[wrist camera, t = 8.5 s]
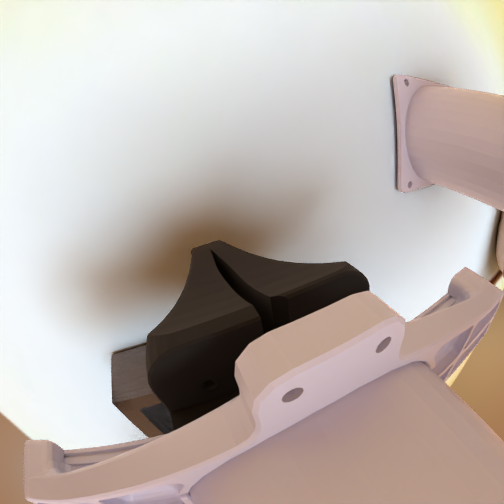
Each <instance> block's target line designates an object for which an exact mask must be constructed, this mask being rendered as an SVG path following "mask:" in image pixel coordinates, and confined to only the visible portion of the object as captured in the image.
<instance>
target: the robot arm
mask: <svg viewBox="0 0 504 504" xmlns="http://www.w3.org/2000/svg"><path fill="white" fill-rule="evenodd" d="M393 85H394V94H395V105H396V118H397V139H398V190H399V191H400V192H403V193H406V192H409V191H413V190H416V189H420V188H423V187H427V186H430V185H434V184H438V185H441V186H443V187H446V188H449V189H451V190H454V191H456V192H459V193H462V194H464V195H466V196H469V197H471V198H474V199H476V200H478V201H481V202H483V203H485V204H488V205H490V206H492V207H494V208H496V209H498V210H501V211H503V212H504V96H503V95H498V94H492V93H487V92H481V91H474V90H467V89H459V88H453V87H449V86H446V85H442V84H439V83H435V82H431V81H427V80H423V79H419V78H415V77H410V76H405V75H395V76H394V78H393ZM191 254H192V259H191V266H190V271H189V275H188V278H187V281H186V284H185V287H184V289H183V291H182V294H181V296H180V297H179V299H178V301H177V303H176V304H175V306H174V307H173V309H172V310H171V311H170V313H169V314H168V315H167V316H166V318H165V319H164V320H163V321H162V322H161V323H160V324H159V325H158V326H157V327H156V328H155V329H154V330H152V331H151V332H150V333H149V334H148V336H147V343H146V355H145V363H146V372H147V379H148V384H149V386H150V388H151V390H152V391H153V393H154V394H155V395H156V396H157V398H158V399H159V400H160V401H161V402H162V404H163V405H164V406H165V407H166V408H167V410H168V411H169V412H170V415H171V420H172V424H173V428H174V431H173V432H171V433H168V434H164V435H160V436H155V437H151V438H146V439H142V440H137V441H132V442H126V443H121V444H115V445H108V446H101V447H93V448H84V449H74V450H63V449H62V448H61V447H59V446H58V445H57V444H55V443H53V442H51V441H48V440H27V441H25V451H24V496H25V498H26V500H28V501H30V502H32V503H35V504H504V442H503V441H502V439H500V437H499V436H498V435H497V434H496V433H495V432H494V431H493V430H492V429H491V428H490V427H489V426H488V425H487V424H486V423H485V422H484V421H483V420H482V419H481V418H480V417H479V416H478V415H477V414H476V413H475V412H474V411H473V410H472V409H471V408H470V407H469V406H468V405H467V404H466V403H465V402H464V401H463V400H462V399H461V398H460V397H459V396H458V395H457V394H456V393H455V392H454V391H453V390H452V389H451V388H450V387H449V386H448V385H447V384H446V383H445V381H446V380H447V379H448V378H449V377H450V376H451V375H452V374H453V373H454V371H455V370H456V369H457V368H458V367H459V366H460V364H461V363H462V362H463V361H464V360H465V359H466V357H467V356H468V355H469V354H470V353H471V351H472V350H473V349H474V348H475V346H476V345H477V344H478V343H479V342H480V340H481V339H482V338H483V337H484V335H485V334H486V332H487V330H488V328H489V326H490V324H491V322H492V320H493V318H494V316H495V313H496V311H497V309H498V307H499V305H500V302H501V300H502V298H503V295H504V292H503V291H502V290H500V289H499V288H497V287H496V286H494V285H493V284H491V283H490V282H488V281H487V280H485V279H484V278H482V277H481V276H479V275H478V274H476V273H475V272H473V271H471V270H470V269H468V268H467V267H464V268H463V269H462V270H461V271H459V272H458V273H457V274H456V275H454V277H453V278H452V280H451V282H450V284H449V288H448V293H447V294H446V295H444V296H443V297H442V298H441V299H439V300H438V301H437V302H436V303H434V304H433V305H432V306H430V307H429V308H428V309H426V310H425V311H424V312H422V313H421V314H420V315H418V316H417V317H416V318H414V319H413V320H411V321H409V322H406V323H405V319H404V318H403V317H402V316H400V315H399V314H398V313H397V312H396V311H394V310H393V309H392V308H391V307H389V306H388V305H387V304H386V303H385V302H383V301H382V300H381V299H380V298H378V297H377V296H376V295H374V294H373V293H371V292H369V283H368V280H367V278H366V277H365V276H364V275H363V274H362V273H361V272H360V271H358V270H357V269H356V268H354V267H353V266H352V265H350V264H349V263H347V262H346V261H344V262H333V263H309V264H308V263H293V262H284V261H278V260H273V259H268V258H264V257H260V256H257V255H254V254H251V253H248V252H245V251H243V250H240V249H238V248H236V247H233V246H231V245H229V244H227V243H225V242H223V241H220V240H218V241H215V242H212V243H209V244H205V245H202V246H199V247H196V248H193V249H192V251H191Z"/></svg>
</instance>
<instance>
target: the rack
mask: <svg viewBox="0 0 504 504" xmlns="http://www.w3.org/2000/svg"><path fill="white" fill-rule="evenodd" d="M145 355H146V345H144V346H140V347H137V348H134V349H130V350H127V351H123V352H120V353H116V354H113V355H112V361H111V372H112V403H113V404H114V405H115V406H116V407H117V408H118V409H119V410H120V411H121V412H122V413H123V414H124V415H125V416H126V417H127V418H128V419H129V420H130V421H131V422H132V423H133V424H134V425H135V426H136V427H138V428H139V429H140V430H141V431H142V432H143V433H144V434H145V435H146V436H148V437H149V438H151V437H155V436H160V435H164V434H168V433H171V432H173V431H174V428H173V424H172V420H171V415H170V412H169V411H168V410H167V408H166V407H165V406H164V405H163V404H162V402H161V401H160V400H159V399H158V398H157V396H156V395H155V394H154V393H153V391H152V390H151V388H150V386H149V384H148V379H147V372H146V363H145Z"/></svg>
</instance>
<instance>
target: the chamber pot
mask: <svg viewBox="0 0 504 504" xmlns="http://www.w3.org/2000/svg"><path fill="white" fill-rule="evenodd" d="M496 258H497V262H498V266H499V268H500V271H501V273H502V275H503V277H504V212H503V211H502V213H501V217H500V222H499V227H498V233H497V246H496Z"/></svg>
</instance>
